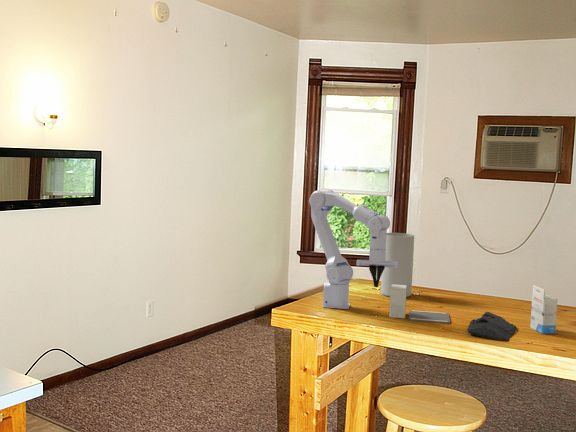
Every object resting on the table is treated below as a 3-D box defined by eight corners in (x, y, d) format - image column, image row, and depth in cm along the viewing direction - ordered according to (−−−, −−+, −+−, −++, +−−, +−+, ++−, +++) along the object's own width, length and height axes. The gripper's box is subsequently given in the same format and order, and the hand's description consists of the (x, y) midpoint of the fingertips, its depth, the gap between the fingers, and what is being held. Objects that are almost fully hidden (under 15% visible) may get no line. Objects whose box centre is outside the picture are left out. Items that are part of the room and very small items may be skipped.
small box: (405, 319, 224) (406, 289, 223) (388, 317, 225) (390, 288, 224) (405, 313, 232) (407, 285, 231) (389, 312, 233) (391, 283, 232)
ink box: (556, 334, 210) (559, 289, 209) (541, 334, 210) (544, 289, 208) (543, 327, 219) (546, 284, 217) (529, 327, 218) (532, 284, 217)
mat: (408, 320, 222) (408, 318, 222) (409, 311, 236) (409, 309, 236) (450, 323, 219) (450, 322, 219) (448, 314, 233) (448, 312, 233)
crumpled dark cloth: (459, 336, 205) (460, 322, 205) (472, 322, 225) (473, 308, 224) (509, 344, 198) (510, 329, 198) (518, 328, 218) (519, 314, 217)
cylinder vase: (413, 298, 259) (416, 236, 257) (382, 297, 259) (385, 235, 257) (408, 292, 271) (411, 233, 269) (378, 291, 272) (381, 232, 269)
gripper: (398, 248, 231) (397, 285, 232) (358, 246, 234) (356, 283, 235) (398, 251, 224) (396, 289, 225) (356, 248, 227) (354, 286, 228)
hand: (376, 286), depth 229 cm, fingers closed
